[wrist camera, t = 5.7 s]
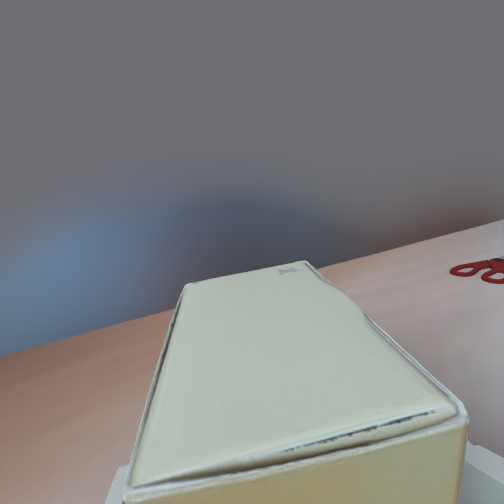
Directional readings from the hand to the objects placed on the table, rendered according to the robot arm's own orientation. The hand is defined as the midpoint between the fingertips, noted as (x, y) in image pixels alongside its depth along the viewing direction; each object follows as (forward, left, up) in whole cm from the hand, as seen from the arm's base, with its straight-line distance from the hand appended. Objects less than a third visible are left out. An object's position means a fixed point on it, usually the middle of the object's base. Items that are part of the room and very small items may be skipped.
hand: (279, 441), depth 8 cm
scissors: (+27, +28, -8) cm, 40 cm away
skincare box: (0, -1, -7) cm, 7 cm away
